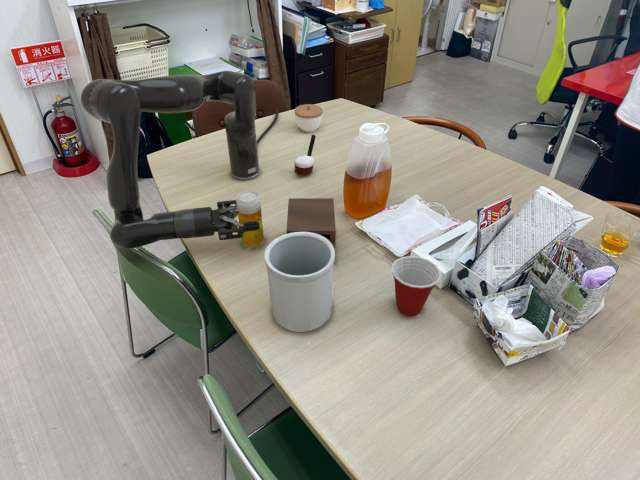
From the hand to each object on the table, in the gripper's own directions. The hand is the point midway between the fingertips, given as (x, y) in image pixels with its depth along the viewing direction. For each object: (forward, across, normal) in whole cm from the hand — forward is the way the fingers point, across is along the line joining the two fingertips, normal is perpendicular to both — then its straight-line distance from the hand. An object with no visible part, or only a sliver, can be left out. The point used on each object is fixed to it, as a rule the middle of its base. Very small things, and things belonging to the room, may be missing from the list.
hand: (257, 216), depth 121 cm
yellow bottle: (-2, 0, +9) cm, 9 cm away
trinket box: (+25, +65, +9) cm, 70 cm away
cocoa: (+18, +33, +9) cm, 39 cm away
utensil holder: (+7, -27, +9) cm, 29 cm away
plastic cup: (+32, -30, +9) cm, 45 cm away
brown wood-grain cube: (+13, -5, +8) cm, 16 cm away
